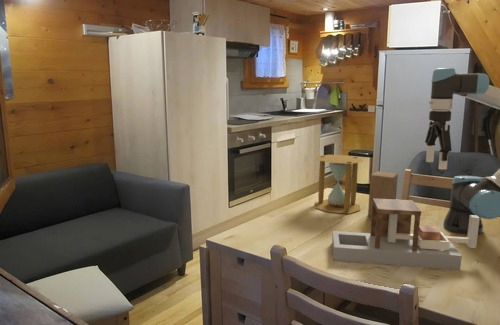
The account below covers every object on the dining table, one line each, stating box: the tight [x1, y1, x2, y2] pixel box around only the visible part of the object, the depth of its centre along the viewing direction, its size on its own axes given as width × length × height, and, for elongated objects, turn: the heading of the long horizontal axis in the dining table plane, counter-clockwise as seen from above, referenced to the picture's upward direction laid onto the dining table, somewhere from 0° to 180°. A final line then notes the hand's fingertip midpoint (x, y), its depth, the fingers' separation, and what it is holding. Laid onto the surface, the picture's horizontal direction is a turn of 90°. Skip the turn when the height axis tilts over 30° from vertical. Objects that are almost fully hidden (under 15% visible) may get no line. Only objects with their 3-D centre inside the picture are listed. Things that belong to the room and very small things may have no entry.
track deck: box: [331, 230, 463, 271], centre depth 151 cm, size 42×16×5 cm, turn 81°
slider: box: [387, 214, 480, 250], centre depth 147 cm, size 29×10×11 cm, turn 81°
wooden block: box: [367, 170, 399, 218], centre depth 193 cm, size 10×10×20 cm
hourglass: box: [314, 154, 364, 215], centre depth 206 cm, size 24×22×25 cm
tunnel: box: [370, 198, 422, 251], centre depth 149 cm, size 14×14×14 cm
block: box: [419, 225, 442, 241], centre depth 148 cm, size 6×6×6 cm
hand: (435, 165), depth 161 cm, fingers open, 13 cm apart
